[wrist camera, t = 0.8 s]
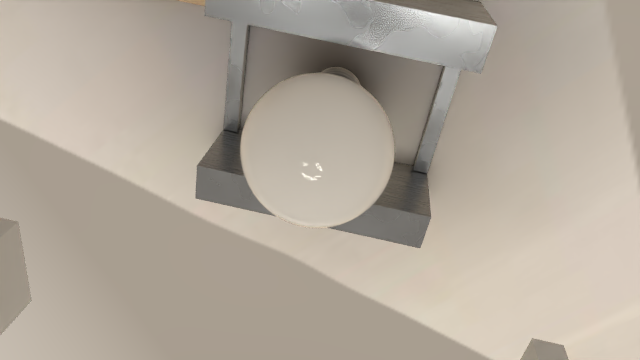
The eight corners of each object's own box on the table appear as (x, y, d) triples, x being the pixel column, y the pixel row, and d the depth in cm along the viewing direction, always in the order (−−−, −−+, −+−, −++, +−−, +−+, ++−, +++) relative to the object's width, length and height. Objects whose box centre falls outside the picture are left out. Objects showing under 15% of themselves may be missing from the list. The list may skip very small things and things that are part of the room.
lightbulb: (387, 18, 25) (379, 94, 16) (403, 132, 28) (405, 253, 19) (268, 39, 27) (196, 121, 17) (295, 146, 30) (246, 265, 20)
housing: (240, -48, 25) (206, -34, 21) (480, 1, 24) (497, 26, 20) (224, 155, 31) (195, 198, 26) (417, 197, 30) (420, 248, 26)
